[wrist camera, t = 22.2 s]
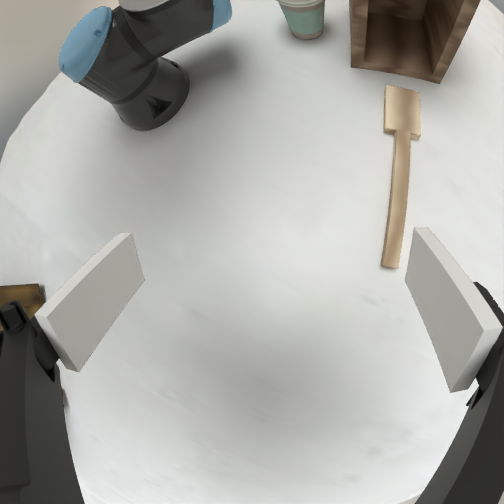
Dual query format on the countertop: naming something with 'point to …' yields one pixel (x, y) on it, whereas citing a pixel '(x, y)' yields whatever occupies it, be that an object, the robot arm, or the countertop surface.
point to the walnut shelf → (408, 35)
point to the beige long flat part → (399, 164)
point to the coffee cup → (304, 17)
